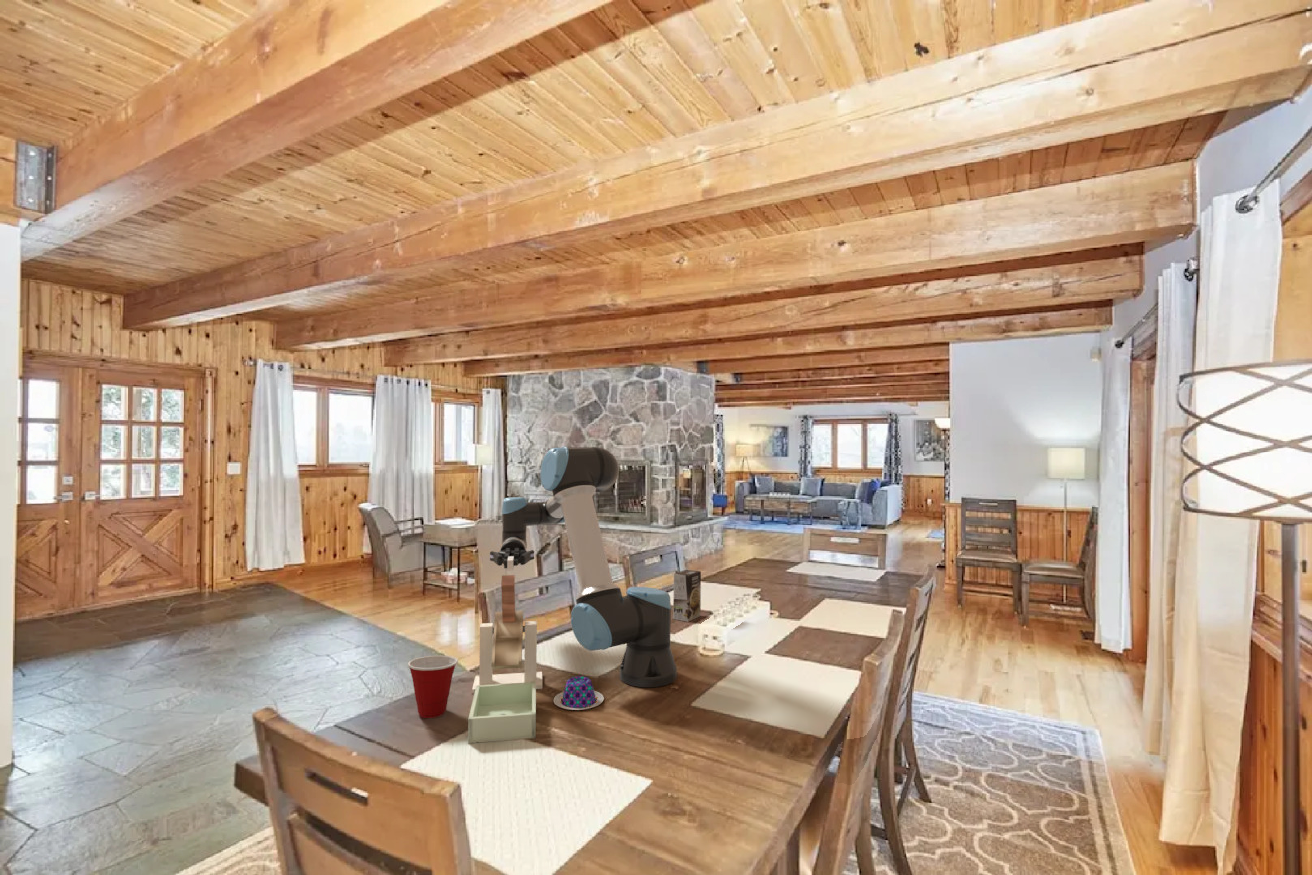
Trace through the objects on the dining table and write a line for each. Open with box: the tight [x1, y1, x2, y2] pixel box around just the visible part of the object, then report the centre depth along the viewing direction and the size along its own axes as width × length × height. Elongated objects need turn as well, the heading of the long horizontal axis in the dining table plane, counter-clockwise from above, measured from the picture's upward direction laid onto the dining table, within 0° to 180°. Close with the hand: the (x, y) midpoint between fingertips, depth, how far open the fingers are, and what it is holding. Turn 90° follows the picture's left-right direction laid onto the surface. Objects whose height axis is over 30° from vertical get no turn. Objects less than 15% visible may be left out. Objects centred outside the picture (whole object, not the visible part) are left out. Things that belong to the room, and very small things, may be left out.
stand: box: [471, 620, 543, 694], centre depth 159 cm, size 9×17×16 cm, turn 101°
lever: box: [491, 574, 524, 670], centre depth 150 cm, size 16×7×15 cm
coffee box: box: [672, 569, 702, 623], centre depth 219 cm, size 9×6×16 cm
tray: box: [467, 682, 537, 744], centre depth 137 cm, size 18×14×5 cm
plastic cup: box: [407, 655, 459, 719], centre depth 142 cm, size 11×11×12 cm
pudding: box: [553, 675, 605, 711], centre depth 149 cm, size 12×12×5 cm
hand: (510, 565), depth 166 cm, fingers closed
